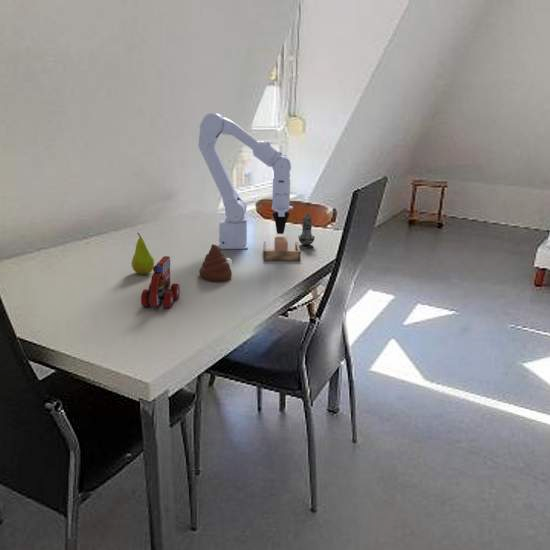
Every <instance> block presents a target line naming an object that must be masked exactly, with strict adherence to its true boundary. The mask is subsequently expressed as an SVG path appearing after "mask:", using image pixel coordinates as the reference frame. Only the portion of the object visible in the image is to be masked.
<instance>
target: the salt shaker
mask: <svg viewBox="0 0 550 550" xmlns="http://www.w3.org/2000/svg"><path fill="white" fill-rule="evenodd" d="M312 219H313V218H312V216H311V215H310V214H309V213H308V212H306V214H305V215H303V219H302V224H301V227H302V230H301V231H302V232H301V234H300V235H298V236H297V238H298V240H299V241H298V242H299V243H300V245H299V244H298V245H299V248H300V249H303V250H311V249H314V245H312V244H313V243H314V241H315V238H316V237H315V235H313V234H312V227H313V225H312Z"/></svg>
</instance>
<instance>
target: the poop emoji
mask: <svg viewBox="0 0 550 550" xmlns="http://www.w3.org/2000/svg"><path fill="white" fill-rule="evenodd" d="M219 247H220V246H218V245H216V244H211V248H210V249H209V251H208V253H207V254H206V255H205V257H204V261H203V262H202V264H201V267H200V268H199V273H198V274H199V276H200V277H201V278H203V279H206V280H208V281H210V282H214V283H221V282H226V281H229V280H230V279H231V278H232V276H233V275H232V274H233V272H232V269H231V267H232V265H233V260H232V259H231V258H229V257H225V255H224V254H223V253H222V251H221V249H220V248H219Z"/></svg>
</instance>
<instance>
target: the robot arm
mask: <svg viewBox="0 0 550 550" xmlns="http://www.w3.org/2000/svg"><path fill="white" fill-rule="evenodd" d="M221 134H222V135H229V136H232V137H234V138H235V139H237V140H238V141H239V142H241V143H243V144H244V145H245V146H246V147H248V148H249V149H251V150H252V154H253V156H254V157H255V158H256V159H257V160H259V161H260V162H262V163H263V164H265V165H266V166H267V167H269V168H272V171H273V179H272V197H271V198H272V202H271V203H272V204H271V209H272V210H273V211H272V213H271V214H272V217H273V220H274V223H275V229H276V233H277V235H284V234H285V233H284V232H285V229H286V224H287V221H288V218H290V217H289V216H290V212H289V210H294V207H293V206H291V205H290V199H291V198H290V195H291V179H290V178H291V174H290V171H291V170H292V166H291V165H292V164H291V161H290V159H289V158H288V157H287V155H285V154H283V152H282V151H281V150H280V151H278V150H277V149H275V148H274V147H273V146H272V145H271V142H269V141H265V140H261V141H260V140H259V141H258V140H257V139H255V137H253V136H252V135H250V133H248V132H247V131H246V130H244V129H243V128H242V127H241V126H240V125H238V124H237V123H236V122H234V121H233V120H231V119H229V118H228V117H224V116H223V115H222V114H221V113H219V112H211V113H210V112H209V113H207V114H206V115H205V116H204V117H203V119H202V121H201V123H200V125H199V137H198V148H199V151H200V152H201V155H202V156H203V158H204V161H205V163H206V166H207V167H208V170H209V172H210V174H211V177H212V179H213V181H214V182H215V185H216V188H218V189H217V190H218V191H219V194H220V197H221V199H222V203H223V206H224V214H225V220H219V229H218V230H219V232H218V233H219V234H218V235H219V236H218V243H219V246H218V247H219V249H220V250H221V249H222V250H223V249H225V250H227V249H229V250H231V249H232V250H233V249H237V250H239V249H241V250H248V248H249V242H248V237H247V236H248V232H247V231H248V229H247V228H248V227H247V226H248V219H247V218H246V216H245V214H246V212H247V204H246V203H245V201H244V200H242V199H241V198H240V195H239V194H238V192H237V191H236V189H235V187H234V185H233V182H232V180H231V179H230V176H229V174H228V171H227V170H226V167H225V166H224V163H223V161H222V159H221V156H220V155H219V152H218V150H217V148H216V144H217V142H218V138H219V136H220V135H221Z"/></svg>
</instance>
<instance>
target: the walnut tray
mask: <svg viewBox="0 0 550 550" xmlns="http://www.w3.org/2000/svg"><path fill="white" fill-rule="evenodd" d="M266 242H267V241H266V240H265V241H263V261H288V262H291V261H293V262H295V261H297V262H298V261H299V262H301V255H302V254H301V248H299V243H298V242H299V241H295V245H294V246H295V247H294V248H288V251H275V249H274V248H267V243H266Z"/></svg>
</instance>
